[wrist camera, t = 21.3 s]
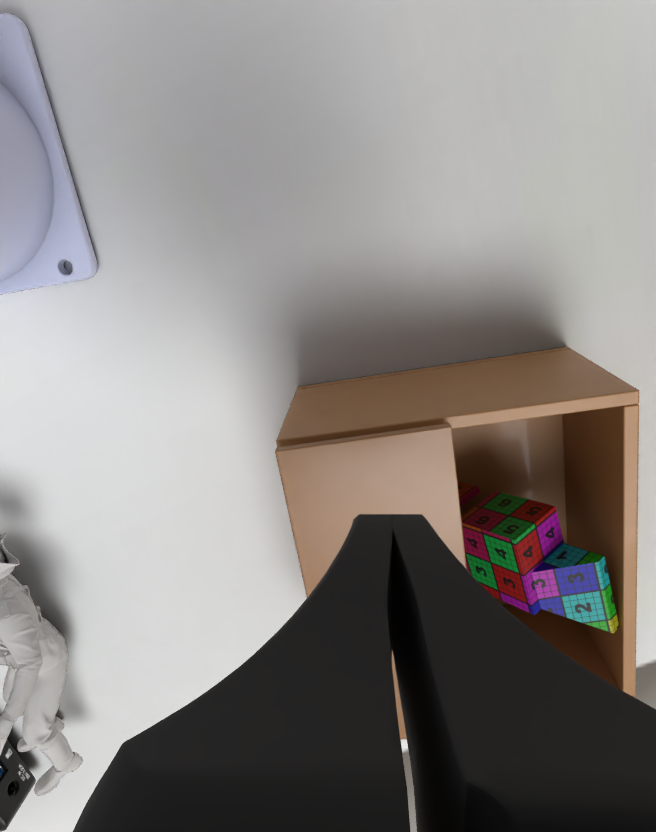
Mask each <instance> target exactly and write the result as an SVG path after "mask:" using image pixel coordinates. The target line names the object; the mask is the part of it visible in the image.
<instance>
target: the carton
mask: <svg viewBox="0 0 656 832" xmlns="http://www.w3.org/2000/svg"><path fill="white" fill-rule="evenodd" d="M638 404H639V390H637V389H636V388H634V387H633V386H631V385H629V384H628V383H626V382H624V381H623V380H621V379H619V378H618V377H616V376H614V375H613V374H611V373H610V372H608V371H606V370H605V369H603V368H601V367H600V366H598V365H596V364H595V363H593V362H592V361H590V360H588V359H587V358H585V357H583V356H582V355H580V354H578V353H577V352H575V351H574V350H572V349H570V348H569V347H562V348H555V349H548V350H542V351H535V352H528V353H521V354H515V355H508V356H501V357H495V358H488V359H481V360H474V361H468V362H461V363H454V364H447V365H441V366H434V367H427V368H421V369H414V370H407V371H400V372H394V373H387V374H380V375H373V376H367V377H360V378H353V379H346V380H340V381H333V382H326V383H320V384H313V385H306V386H299V387H298V388H297V390H296V393H295V395H294V398H293V400H292V403H291V405H290V408H289V410H288V413H287V415H286V418H285V420H284V423H283V425H282V428H281V430H280V433H279V435H278V438H277V440H276V442H277V447H283V446H291V445H298V444H305V443H312V442H319V441H326V440H333V439H340V438H347V437H354V436H361V435H368V434H375V433H383V432H390V431H397V430H404V429H411V428H418V427H425V426H432V425H439V424H446V423H450V424H451V426H452V433H453V443H454V452H455V462H456V472H457V481H459V482H463V483H467V484H471V485H474V486H478V487H479V489H480V493H479V494H478V495H476V496H475V497H474V498H472V499H471V500H470V501H468V502H467V503H466V504H464V505H463V506H461V507H460V510H461V515H465V514H466V513H467V512H469V511H470V510H471V509H473V508H474V507H475V506H477V505H478V504H479V503H481V502H482V501H483V500H484V499H486V498H487V497H488V496H490V495H491V494H492V493H494V492H495V491H498V492H502V493H506V494H510V495H514V496H518V497H521V498H525V499H529V500H533V501H537V502H541V503H545V504H549V505H553V506H556V510H557V515H558V519H559V523H560V528H561V532H562V536H563V540H564V543H565V544H568V545H571V546H575V547H578V548H581V549H584V550H587V551H590V552H594V553H597V554H600V555H603V556H605V561H606V565H607V570H608V575H609V580H610V584H611V589H612V594H613V599H614V604H615V608H616V613H617V618H618V623H619V628H618V629H617V630H616V631H615V632H614V633H611V632H608V631H605V630H602V629H599V628H596V627H593V626H590V625H587V624H584V623H581V622H578V621H575V620H572V619H570V618H567V617H564V616H561V615H558V614H555V613H552V612H549V611H546V610H543V609H540V610H539V611H538V612H537V613H536V614H535V615H533V614H531V613H529V612H527V611H524V610H522V609H520V608H518V607H516V606H514V605H511V604H509V603H507V602H505V601H503V600H501V599H498V598H496V597H494V596H493V597H494V598H495V599H496V600H497V601H498V602H499V603H500V604H501V605H502V606H503V607H504V608H506V609H507V610H508V611H509V612H510V613H511V614H513V615H514V616H515V617H516V618H518V619H519V620H520V621H521V622H523V623H524V624H525V625H526V626H527V627H529V628H530V629H531V630H532V631H534V632H535V633H536V634H537V635H539V636H540V637H541V638H543V639H544V640H545V641H547V642H548V643H550V644H551V645H552V646H554V647H555V648H556V649H558V650H559V651H561V652H562V653H564V654H565V655H567V656H568V657H570V658H571V659H573V660H574V661H576V662H577V663H579V664H580V665H582V666H583V667H585V668H586V669H588V670H589V671H591V672H592V673H594V674H595V675H597V676H599V677H600V678H602V679H604V680H605V681H607V682H608V683H610V684H612V685H613V686H615V687H617V688H618V689H620V690H622V691H624V692H625V693H627V694H629V695H631V696H632V697H634V698H635V679H636V678H635V677H636V599H637V517H638V435H639V405H638Z"/></svg>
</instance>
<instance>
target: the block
mask: <svg viewBox="0 0 656 832" xmlns="http://www.w3.org/2000/svg"><path fill="white" fill-rule="evenodd" d="M458 491H459V500H460V507H461V506H463V505H464V504H466V503H467V502H468V501H470V500H471V499H472V498H474V497H475V496H476V495H478V494H479V493H480V489H479V487H478V486H474V485H471V484H467V483H463V482H459V481H458ZM461 519H462V529H463V538H464V548H465V558H466V567H467V570H468V571H469V572H470V574H471V575H472V576H473V577H474V578H475V579H476V580H477V581H478V582H479V583H480V584H481V585H482V586H483V587H484V588H485V589H486V590H487V591H488V592H489V593H490V594H491V595H492V596H494V597H496V598H498V599H501V600H503V601H505V602H507V603H509V604H511V605H514V606H516V607H518V608H520V609H522V610H524V611H527V612H529V613H531V614H533V615H535V614H536V613H537V612H538V611H539V610H540V609H543V610H546V611H549V612H552V613H555V614H558V615H561V616H564V617H567V618H570V619H572V620H575V621H578V622H581V623H584V624H587V625H590V626H593V627H596V628H599V629H602V630H605V631H608V632H611V633H614V632H615V631H616V630H617V629H618V628H619V623H618V618H617V613H616V608H615V604H614V599H613V594H612V589H611V584H610V580H609V575H608V570H607V565H606V561H605V556H603V555H600V554H597V553H594V552H590V551H587V550H584V549H581V548H578V547H575V546H571V545H568V544H565V543H564V540H563V536H562V532H561V528H560V523H559V519H558V515H557V510H556V506H553V505H549V504H545V503H541V502H537V501H533V500H529V499H525V498H521V497H518V496H514V495H510V494H506V493H502V492H498V491H495V492H494V493H492V494H491V495H490V496H488V497H487V498H486V499H484V500H483V501H482V502H481V503H479V504H478V505H477V506H475V507H474V508H473V509H471V510H470V511H469V512H467V513H466V514H465V515H461Z"/></svg>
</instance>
